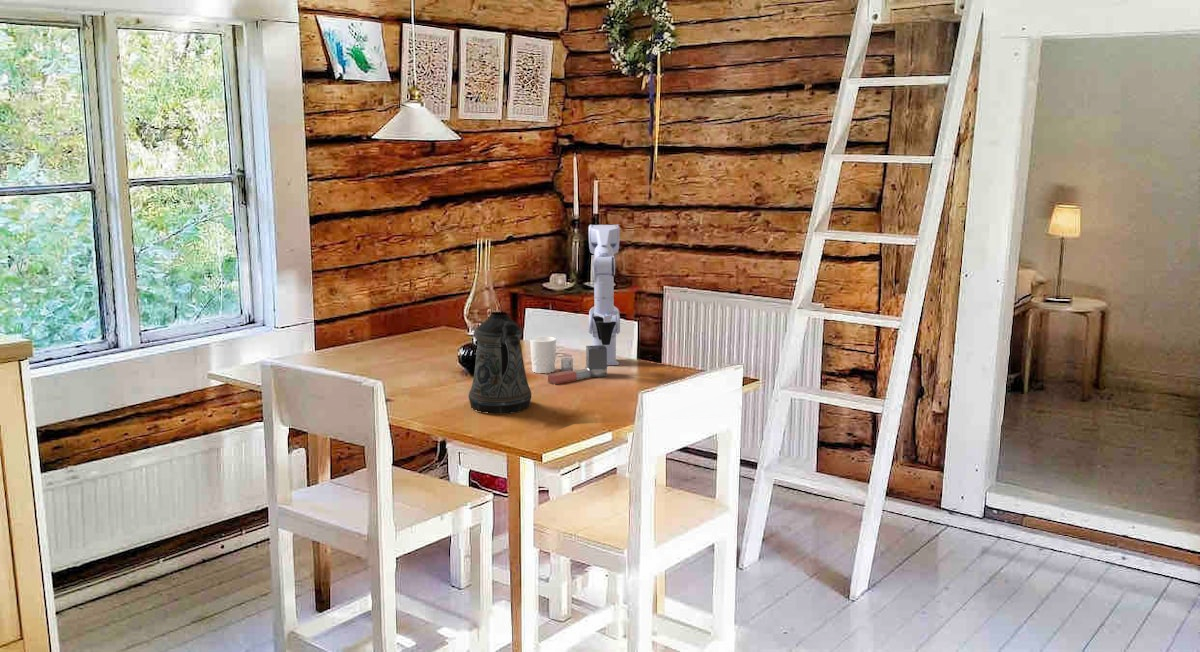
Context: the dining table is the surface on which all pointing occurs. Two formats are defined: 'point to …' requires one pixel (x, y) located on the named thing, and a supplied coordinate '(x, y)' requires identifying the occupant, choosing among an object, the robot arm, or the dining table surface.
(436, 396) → the dining table surface
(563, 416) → the dining table surface
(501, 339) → the beer stein
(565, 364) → the socket
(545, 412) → the dining table surface
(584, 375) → the ratchet
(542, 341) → the white cup
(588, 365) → the brushed steel cube
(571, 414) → the dining table surface
